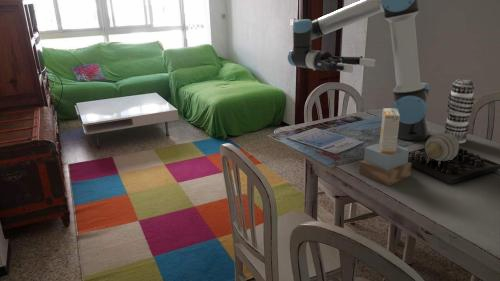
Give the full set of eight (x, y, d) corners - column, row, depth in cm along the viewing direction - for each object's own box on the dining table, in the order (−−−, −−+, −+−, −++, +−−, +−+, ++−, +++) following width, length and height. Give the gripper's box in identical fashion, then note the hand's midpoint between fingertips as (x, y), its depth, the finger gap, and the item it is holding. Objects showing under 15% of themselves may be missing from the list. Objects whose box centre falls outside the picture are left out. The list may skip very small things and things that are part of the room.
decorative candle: (437, 138, 160) (446, 80, 151) (451, 134, 164) (460, 77, 155) (457, 145, 153) (468, 84, 144) (471, 140, 157) (482, 80, 148)
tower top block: (383, 153, 137) (384, 140, 135) (407, 163, 129) (409, 149, 127) (364, 160, 132) (365, 147, 130) (387, 170, 124) (389, 156, 122)
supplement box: (396, 153, 124) (400, 115, 119) (380, 152, 125) (384, 115, 120) (393, 144, 131) (397, 107, 127) (379, 143, 133) (382, 107, 128)
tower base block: (380, 165, 139) (381, 152, 138) (410, 176, 130) (411, 163, 128) (359, 174, 133) (360, 161, 131) (388, 187, 124) (389, 173, 122)
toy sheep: (414, 164, 138) (418, 136, 134) (436, 151, 148) (440, 124, 144) (444, 173, 130) (449, 143, 126) (465, 159, 140) (470, 131, 136)
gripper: (339, 65, 162) (382, 71, 147) (297, 74, 148) (341, 81, 132) (339, 47, 160) (384, 51, 144) (297, 55, 145) (342, 60, 130)
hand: (363, 66), depth 138 cm, fingers open, 13 cm apart
